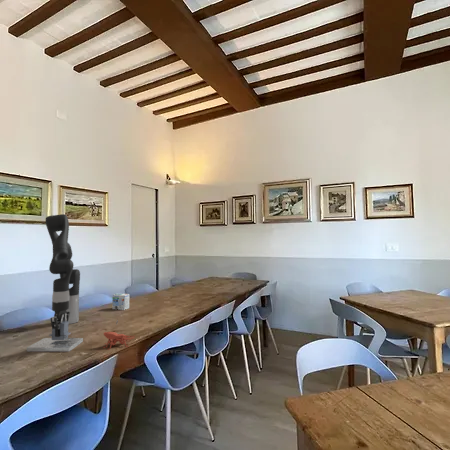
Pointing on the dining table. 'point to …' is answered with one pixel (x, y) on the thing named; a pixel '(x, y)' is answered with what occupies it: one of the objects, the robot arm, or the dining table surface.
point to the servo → (61, 332)
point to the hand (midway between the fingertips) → (60, 335)
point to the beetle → (116, 338)
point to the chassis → (55, 344)
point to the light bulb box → (120, 301)
